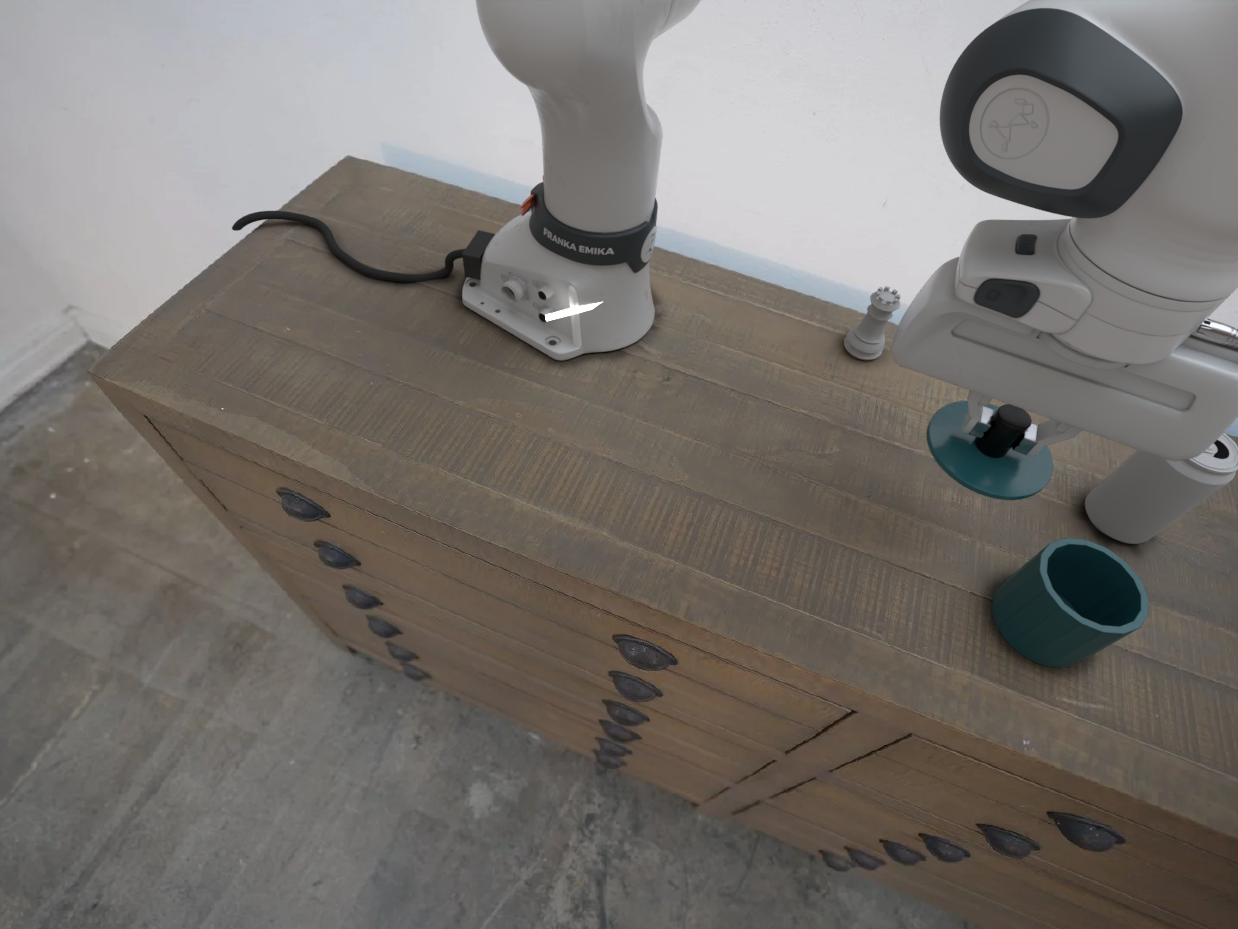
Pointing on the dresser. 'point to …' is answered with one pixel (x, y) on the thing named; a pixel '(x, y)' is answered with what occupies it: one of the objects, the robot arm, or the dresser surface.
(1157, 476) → the beverage can
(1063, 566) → the pot
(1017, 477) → the pot lid
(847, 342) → the rook chess piece
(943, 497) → the dresser surface
